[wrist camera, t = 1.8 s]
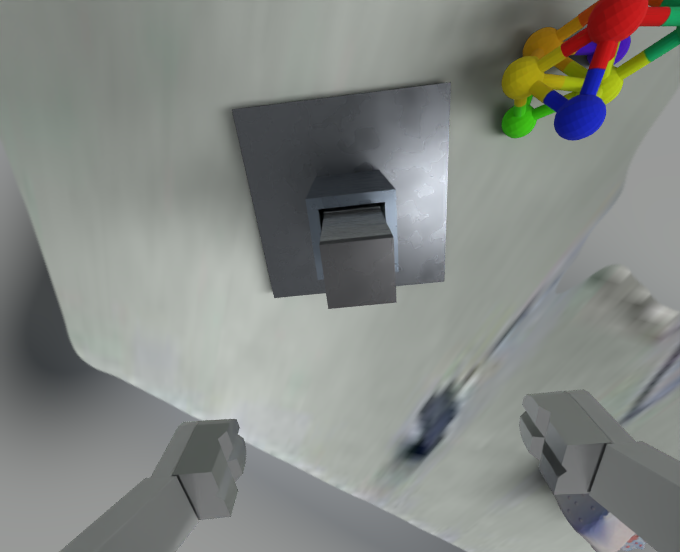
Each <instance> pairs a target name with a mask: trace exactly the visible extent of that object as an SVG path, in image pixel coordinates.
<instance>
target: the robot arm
mask: <svg viewBox="0 0 680 552" xmlns="http://www.w3.org/2000/svg"><path fill="white" fill-rule="evenodd" d="M522 405H523V407H524V408H525V410H526V411H525V412H524V413H523V414H522V415H521V416H520V422H519V428H520V433H521V437H522V440H523V442H524V445H525V446H526V448H527V450H528V452H529V453H530V454H531V455H533V456H534V457H536V458H537V459H539V460H540V463H539V471H540V472H541V474H542V476H543V477H544V479H545V481H546V482H547V484H548V486H549V488H550V489H551V491H552V493H553V494H554V495H559V494H585V493H590V494H589V496H591V497H592V498H593V499H594V500H595V501H597V502H598V503H599V504H600V505H601V506H603V507H604V508H605V509H606V510H608V511H609V512H610V513H611V514H612V515H614V516H615V517H616V518H617V519H619V520H620V521H621V522H622V523H623V524H625V525H626V526H627V527H628V528H630V529H631V530H632V531H633V532H634V533H636V534H637V535H638V536H639V537H640V538H642V539H643V540H644V541H645V542H647V543H648V544H649V545H650V546H651V547H653V548H654V549H655V550H656V551H658V552H680V461H679V460H677V459H675V458H673V457H671V456H669V455H667V454H665V453H663V452H662V451H660V450H658V449H656V448H654V447H652V446H650V445H648V444H646V443H645V442H643V441H639V442H636V441H635V440H634V439H633V438H632V437H631V436H630V435H629V434H628V433H627V432H626V431H625V429H624V428H623V427H622V426H621V425H620V424H619V423H618V422H617V421H616V420H615V419H614V418H613V417H612V416H611V415H610V414H609V413H608V412H607V411H606V410H605V408H604V407H603V406H602V405H601V404H600V403H599V402H598V401H597V400H596V399H595V398H594V397H593V396H592V395H591V394H590V393H589V392H588V391H586V390H584V389H583V390H572V391H564V392H562V391H558V392H548V393H537V394H527V395H526V396H525V397H524V398H523V403H522ZM239 428H240V427H239V424H238V422H237V419H223V420H205V421H192V422H183V423H182V424H181V425H180V426H178V428H177V430H176V431H175V433H174V435H173V437H172V439H171V441H170V443H169V444H168V446H167V448H166V450H165V452H164V454H163V455H162V457H161V459H160V461H159V463H158V465H157V467H156V469H155V470H154V472H153V474H152V476H151V478H145V479H144V480H142V481H141V482H140V483H139V484H138V485H137V486H136V487H134V488H133V489H132V490H131V491H130V492H128V493H127V494H126V495H125V496H124V497H123V498H121V499H120V500H119V501H118V502H117V503H116V504H114V505H113V506H112V507H111V508H110V509H109V510H107V511H106V512H105V513H104V514H103V515H102V516H100V517H99V518H98V519H97V520H96V521H95V522H94V523H92V524H91V525H90V526H89V527H88V528H86V529H85V530H84V531H83V532H82V533H81V534H79V535H78V536H77V537H76V538H75V539H74V540H72V541H71V542H70V543H69V544H68V545H67V546H65V547H64V548H63V549H62V550H61V551H60V552H176V551H177V550H178V548H179V547H180V546H181V545H182V543H183V542H184V541H185V539H186V538H187V537H188V536H189V534H190V533H191V532H192V531H193V529H194V528H195V527H196V525H197V524H198V523H199V520H202V519H212V518H222V517H231V514H232V510H233V506H234V503H235V499H236V496H237V492H238V489H237V486H236V484H235V482H236V481H237V480H238V479H239V477H240V476H241V475H242V474H243V470H244V467H245V460H246V446H245V442H244V439H243V438H242V437H241V436H239V435H238V431H239Z"/></svg>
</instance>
